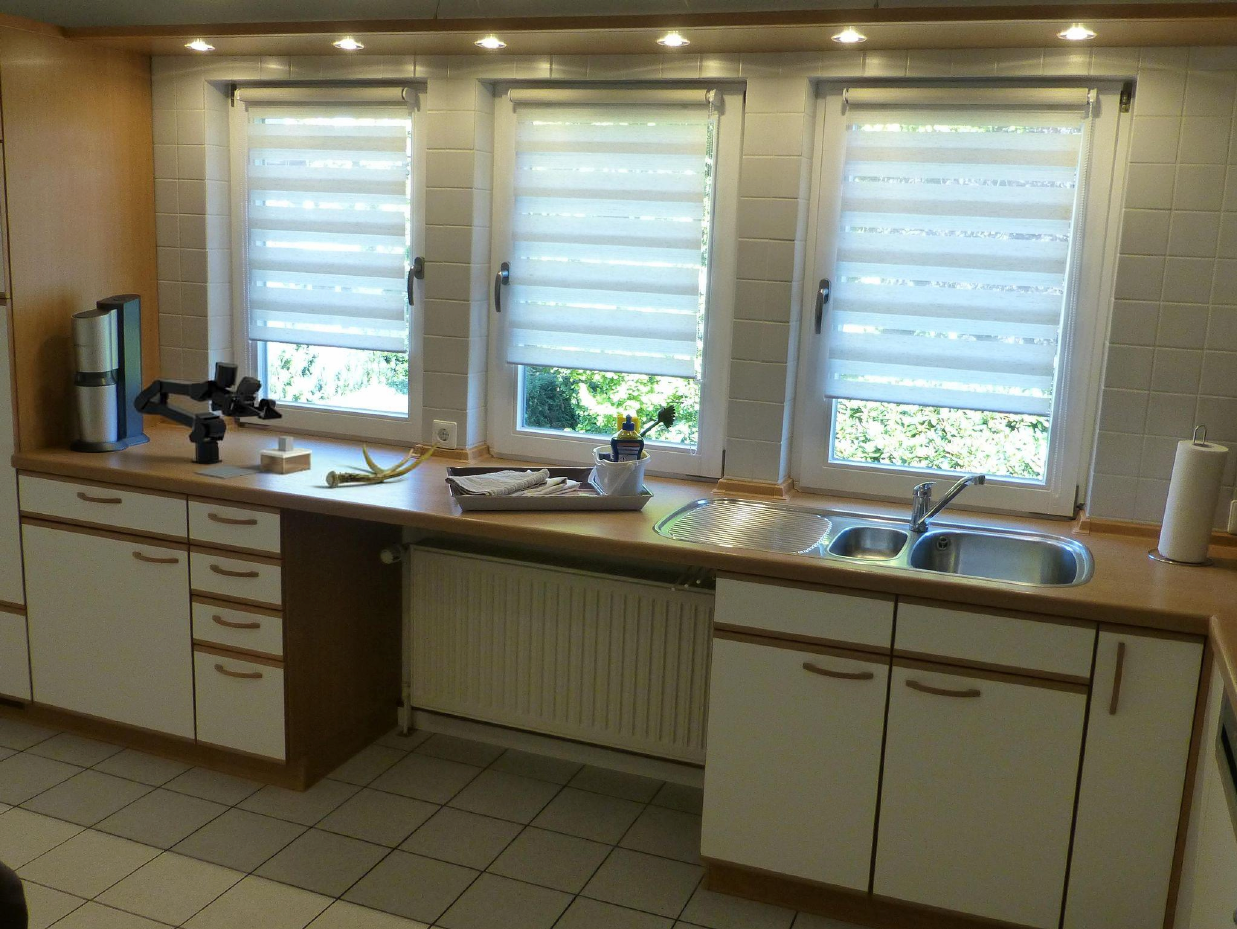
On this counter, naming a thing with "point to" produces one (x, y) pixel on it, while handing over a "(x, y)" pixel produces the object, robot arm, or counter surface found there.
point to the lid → (285, 449)
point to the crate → (285, 463)
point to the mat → (226, 471)
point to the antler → (376, 470)
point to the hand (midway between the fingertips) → (270, 415)
